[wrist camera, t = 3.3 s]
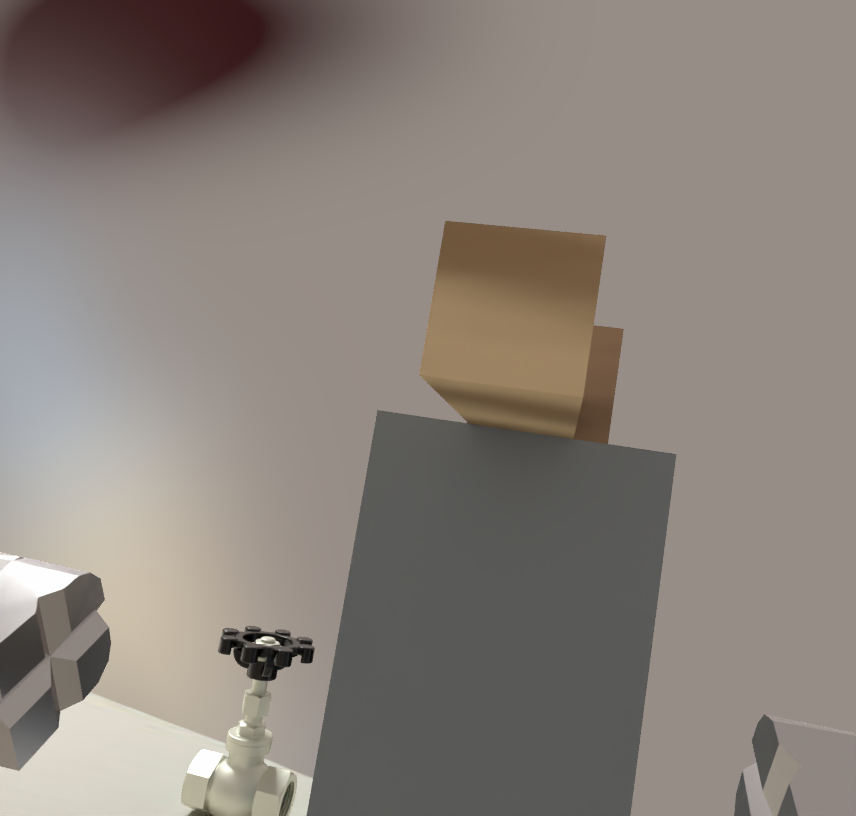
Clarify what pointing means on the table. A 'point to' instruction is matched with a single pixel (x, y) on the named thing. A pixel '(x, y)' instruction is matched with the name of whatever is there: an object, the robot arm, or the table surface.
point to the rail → (522, 331)
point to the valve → (248, 735)
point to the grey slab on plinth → (494, 625)
